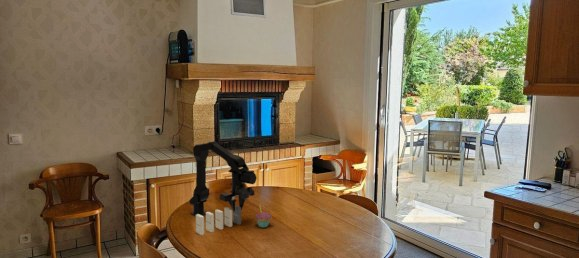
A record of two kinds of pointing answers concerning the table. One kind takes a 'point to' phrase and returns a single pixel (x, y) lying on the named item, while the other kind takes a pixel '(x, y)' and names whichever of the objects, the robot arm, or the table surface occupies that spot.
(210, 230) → the domino
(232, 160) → the robot arm
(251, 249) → the table surface
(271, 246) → the table surface
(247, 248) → the table surface
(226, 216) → the domino
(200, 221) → the domino
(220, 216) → the domino
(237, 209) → the grey domino block
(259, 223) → the cupcake
